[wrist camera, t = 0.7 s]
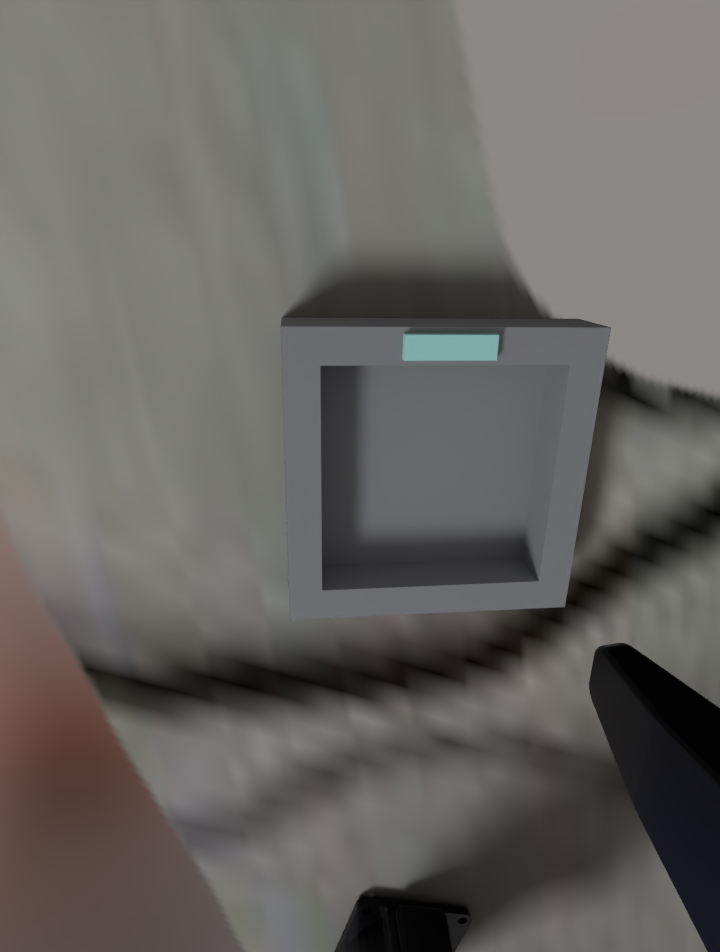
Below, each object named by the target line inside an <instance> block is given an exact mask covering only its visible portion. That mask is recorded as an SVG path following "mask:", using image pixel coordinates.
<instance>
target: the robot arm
mask: <svg viewBox="0 0 720 952" xmlns="http://www.w3.org/2000/svg"><path fill="white" fill-rule="evenodd" d="M589 689H590V695H591V699H592V701H593V704H594V707H595V709H596V712H597V714H598V717H599V719H600V722H601V725H602V727H603V730H604V732H605V735H606V737H607V740H608V743H609V745H610V748H611V750H612V753H613V755H614V758H615V760H616V763H617V766H618V768H619V771H620V773H621V776H622V778H623V781H624V784H625V786H626V789H627V791H628V793H629V796H630V798H631V801H632V803H633V805H634V807H635V809H636V811H637V813H638V816H639V818H640V820H641V822H642V824H643V826H644V828H645V830H646V832H647V833H648V835H649V837H650V839H651V841H652V843H653V845H654V847H655V849H656V851H657V853H658V855H659V857H660V859H661V861H662V863H663V865H664V867H665V869H666V871H667V873H668V875H669V877H670V879H671V881H672V883H673V884H674V886H675V888H676V890H677V892H678V894H679V896H680V898H681V900H682V902H683V904H684V906H685V908H686V910H687V912H688V914H689V916H690V918H691V920H692V922H693V924H694V926H695V928H696V930H697V932H698V933H699V935H700V937H701V939H702V941H703V943H704V945H705V947H706V949H707V951H708V952H720V708H719V707H717V706H716V705H715V704H713V703H712V702H710V701H709V700H707V699H706V698H705V697H703V696H702V695H700V694H699V693H697V692H696V691H695V690H693V689H692V688H690V687H689V686H687V685H686V684H685V683H683V682H682V681H680V680H679V679H677V678H676V677H674V676H673V675H672V674H670V673H669V672H667V671H666V670H664V669H663V668H662V667H660V666H659V665H657V664H656V663H654V662H653V661H652V660H650V659H649V658H647V657H646V656H644V655H643V654H642V653H640V652H639V651H637V650H636V649H634V648H633V647H631V646H630V645H628V644H625V643H616V644H610V645H604V646H600V647H598V648H597V650H596V651H595V654H594V660H593V665H592V671H591V676H590V682H589ZM471 920H472V919H471V915H470V912H469V909H467V908H465V907H458V906H448V905H439V904H429V903H420V902H410V901H401V900H391V899H382V898H372V897H364V898H361V899H359V900H358V901H357V902H356V904H355V907H354V909H353V911H352V914H351V916H350V918H349V920H348V923H347V925H346V927H345V929H344V932H343V934H342V936H341V939H340V941H339V943H338V945H337V948H336V950H335V952H455V951H456V949H457V947H458V945H459V943H460V941H461V939H462V938H463V936H464V934H465V932H466V930H467V928H468V926H469V925H470V923H471Z"/></svg>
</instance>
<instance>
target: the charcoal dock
mask: <svg viewBox="0 0 720 952" xmlns="http://www.w3.org/2000/svg"><path fill="white" fill-rule="evenodd" d="M610 330H611V328H610V327H607V326H603V325H599V324H595V323H591V322H588V321H584V320H580V319H490V318H283V317H282V321H281V351H282V384H283V416H284V448H285V480H286V513H287V545H288V577H289V609H290V620H299V619H320V618H341V617H362V616H383V615H404V614H425V613H446V612H467V611H488V610H509V609H530V608H551V607H565V602H566V596H567V590H568V584H569V578H570V572H571V566H572V560H573V554H574V548H575V542H576V536H577V530H578V524H579V518H580V512H581V506H582V500H583V493H584V487H585V481H586V475H587V469H588V463H589V457H590V451H591V445H592V439H593V433H594V427H595V421H596V415H597V409H598V403H599V397H600V391H601V385H602V378H603V372H604V366H605V360H606V354H607V348H608V342H609V336H610Z"/></svg>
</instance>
